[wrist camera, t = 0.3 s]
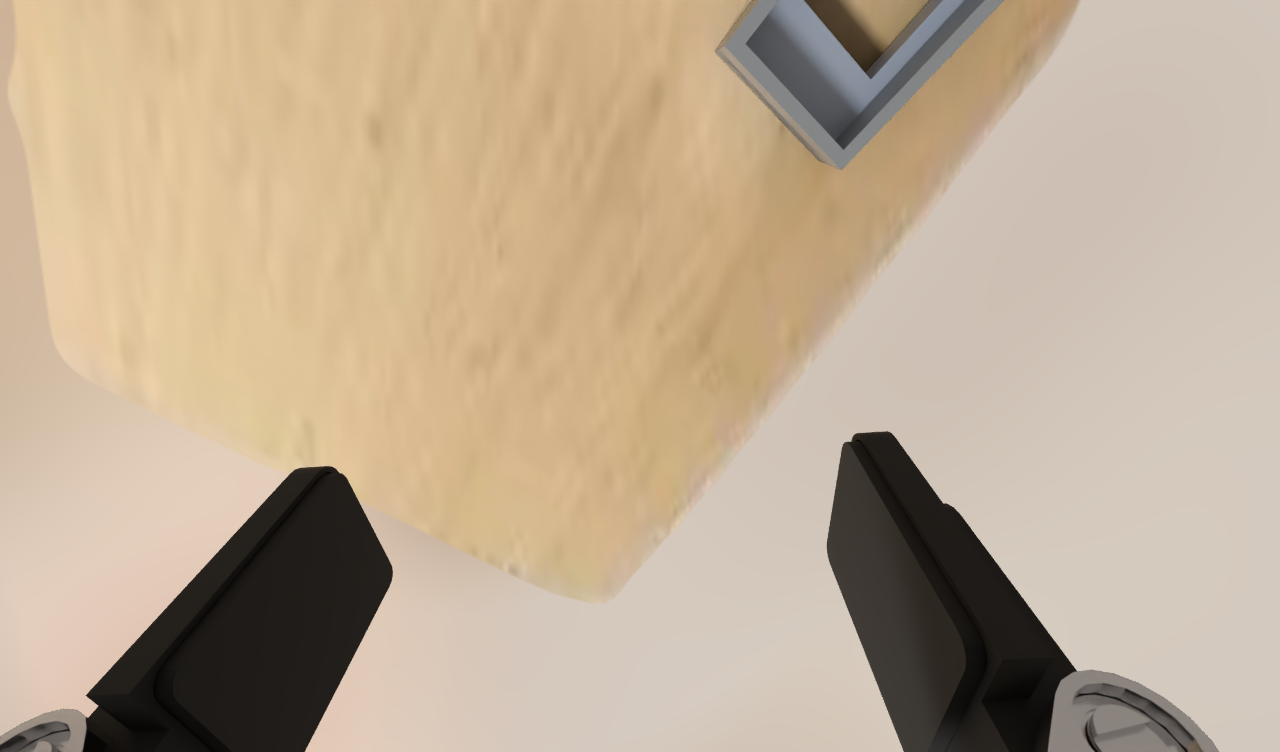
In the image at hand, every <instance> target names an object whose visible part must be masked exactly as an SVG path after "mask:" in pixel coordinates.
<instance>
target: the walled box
mask: <svg viewBox="0 0 1280 752" xmlns="http://www.w3.org/2000/svg"><path fill="white" fill-rule="evenodd" d="M1003 1H1004V0H930V1H929V2H928V3H927V4H926V5H925V7H924V8H923V9H922V10H921V11H920V12H919V13H918V14H917V15H916V17H915V18H914V19H913V20H912V21H911V22H910V23H909V24H908V26H907V27H906V28H905V29H904V30H903V31H902V32H901V33H900V34H899V36H898V37H897V38H896V39H895V40H894V41H893V42H892V43H891V45H890V46H889V47H888V48H887V49H886V50H885V51H884V52H883V53H882V55H881V56H880V57H879V58H878V59H877V60H876V61H875V62H874V64H873V65H872V66H871V67H870V68H869V69H868V70H867V71H866V72H864V71H863V70H862V69H861V68H860V66H859V65H858V64H857V63H856V62H855V60H854V59H853V58H852V57H851V56H850V54H849V53H848V52H847V51H846V50H845V49H844V47H843V46H842V45H841V44H840V43H839V41H838V40H837V39H836V38H835V37H834V35H833V34H832V33H831V32H830V31H829V29H828V28H827V27H826V26H825V25H824V24H823V22H822V21H821V20H820V19H819V18H818V16H817V15H816V14H815V13H814V12H813V10H812V9H811V8H810V7H809V6H808V5H807V3H806V2H805V1H804V0H753V1H752V2H751V3H750V5H749V6H748V7H747V9H746V10H745V11H744V13H743V14H742V15H741V17H740V18H739V19H738V21H737V22H736V23H735V25H734V26H733V27H732V29H731V30H730V32H729V33H728V34H727V36H726V37H725V38H724V40H723V41H722V42H721V44H720V45H719V46H718V48H717V49H716V50H715V53H716V54H717V55H718V56H719V57H720V58H721V59H722V60H723V61H724V62H725V63H726V64H727V65H728V66H729V67H730V68H731V69H732V71H733V72H734V73H735V74H736V75H737V76H738V77H739V78H740V79H741V80H742V81H743V82H744V83H745V84H746V85H747V86H748V87H749V88H750V89H751V90H752V91H753V93H754V94H755V95H756V96H757V97H758V98H759V99H760V100H761V101H762V102H763V103H764V104H765V105H766V106H767V107H768V108H769V109H770V110H771V111H772V112H773V113H774V114H775V116H776V117H777V118H778V119H779V120H780V121H781V122H782V123H783V124H784V125H785V126H786V127H787V128H788V129H789V130H790V131H791V132H792V133H793V134H794V135H795V136H796V138H797V139H798V140H799V141H800V142H801V143H802V144H803V145H804V146H805V147H806V148H807V149H808V150H809V151H810V152H811V153H812V154H813V155H814V156H815V157H816V158H817V159H818V161H820V162H823V163H825V164H828V165H830V166H833V167H835V168H837V169H840V170H842V169H843V168H844V167H845V166H846V165H847V164H848V163H849V162H850V161H851V160H852V159H853V158H854V157H855V156H856V155H857V153H858V152H859V151H860V150H861V149H862V148H863V147H864V146H865V145H866V144H867V143H868V142H869V141H870V140H871V139H872V138H873V137H874V136H875V135H876V134H877V133H878V132H879V131H880V129H881V128H882V127H883V126H884V125H885V124H886V123H887V122H888V121H889V120H890V119H891V118H892V117H893V116H894V115H895V114H896V113H897V112H898V111H899V110H900V109H901V108H902V107H903V105H904V104H905V103H906V102H907V101H908V100H909V99H910V98H911V97H912V96H913V95H914V94H915V93H916V92H917V91H918V90H919V89H920V88H921V87H922V86H923V85H924V84H925V83H926V81H927V80H928V79H929V78H930V77H931V76H932V75H933V74H934V73H935V72H936V71H937V70H938V69H939V68H940V67H941V66H942V65H943V64H944V63H945V62H946V61H947V60H948V58H949V57H950V56H951V55H952V54H953V53H954V52H955V51H956V50H957V49H958V48H959V47H960V46H961V45H962V44H963V43H964V42H965V41H966V40H967V39H968V38H969V37H970V36H971V34H972V33H973V32H974V31H975V30H976V29H977V28H978V27H979V26H980V25H981V24H982V23H983V22H984V21H985V20H986V19H987V18H988V17H989V16H990V15H991V14H992V13H993V12H994V10H995V9H996V8H997V7H998V6H999V5H1000V4H1001V3H1002V2H1003Z"/></svg>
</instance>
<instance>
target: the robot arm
mask: <svg viewBox="0 0 1280 752" xmlns="http://www.w3.org/2000/svg"><path fill="white" fill-rule="evenodd" d="M827 553H828V558H829V562H830V565H831V567H832V570H833V572H834V575H835V578H836V580H837V582H838V585H839V587H840V590H841V593H842V595H843V598H844V600H845V603H846V605H847V608H848V611H849V613H850V616H851V618H852V621H853V623H854V626H855V628H856V631H857V634H858V636H859V639H860V641H861V644H862V646H863V648H864V651H865V654H866V656H867V659H868V661H869V664H870V666H871V669H872V672H873V674H874V677H875V679H876V682H877V684H878V687H879V690H880V692H881V695H882V697H883V699H884V702H885V705H886V707H887V710H888V712H889V715H890V718H891V720H892V723H893V725H894V727H895V730H896V733H897V735H898V738H899V740H900V743H901V745H902V748H903V751H904V752H1219V751H1218V749H1217V748H1216V746H1215V745H1214V743H1213V742H1212V740H1211V739H1210V738H1209V737H1208V736H1207V735H1206V734H1205V733H1204V732H1203V731H1202V730H1201V729H1200V728H1199V727H1198V726H1197V724H1196V723H1195V722H1194V721H1193V720H1191V718H1190V717H1188V716H1187V715H1186V714H1185V713H1183V712H1182V711H1181V710H1180V709H1178V708H1177V707H1176V706H1174V705H1173V704H1172V703H1171V702H1169V701H1168V700H1167V699H1165V698H1164V697H1162V696H1160V695H1159V694H1157V693H1155V692H1153V691H1152V690H1150V689H1148V688H1146V687H1145V686H1143V685H1141V684H1139V683H1137V682H1135V681H1132V680H1129V679H1127V678H1124V677H1121V676H1119V675H1116V674H1114V673H1107V672H1102V671H1095V670H1086V671H1078V672H1077V671H1076V669H1075V668H1074V666H1073V665H1072V664H1071V662H1070V661H1069V660H1068V658H1067V657H1066V656H1065V655H1064V653H1063V652H1062V650H1061V649H1060V648H1059V646H1058V645H1057V644H1056V642H1055V641H1054V640H1053V638H1052V637H1051V636H1050V634H1049V633H1048V632H1047V630H1046V629H1045V628H1044V626H1043V625H1042V624H1041V622H1040V621H1039V620H1038V618H1037V617H1036V616H1035V614H1034V613H1033V611H1032V610H1031V609H1030V608H1029V606H1028V605H1027V603H1026V602H1025V601H1024V599H1023V598H1022V597H1021V595H1020V594H1019V593H1018V591H1017V590H1016V589H1015V587H1014V586H1013V585H1012V583H1011V582H1010V581H1009V579H1008V578H1007V577H1006V575H1005V574H1004V573H1003V571H1002V570H1001V568H1000V567H999V566H998V564H997V563H996V562H995V560H994V559H993V558H992V556H991V555H990V554H989V552H988V551H987V550H986V548H985V547H984V546H983V544H982V543H981V542H980V540H979V539H978V538H977V536H976V535H975V534H974V532H973V531H972V530H971V528H970V527H969V526H968V524H967V523H966V522H965V520H964V519H963V517H962V516H961V515H960V514H959V513H958V512H957V511H956V510H955V508H954V507H952V506H950V505H948V504H943V503H942V501H941V500H940V499H939V497H938V496H937V495H936V493H935V492H934V490H933V489H932V487H931V486H930V485H929V483H928V482H927V481H926V479H925V478H924V477H923V475H922V474H921V472H920V471H919V470H918V468H917V467H916V465H915V464H914V463H913V461H912V460H911V458H910V457H909V456H908V455H907V453H906V452H905V450H904V449H903V447H902V446H901V445H900V443H899V442H898V441H897V439H896V438H895V436H894V435H893V434H892V433H890V432H888V431H887V432H872V433H871V432H870V433H857V434H855V435H854V436H853V438H852V441H851V442H845V443H844V444H843V447H842V452H841V458H840V464H839V471H838V477H837V483H836V489H835V496H834V502H833V508H832V514H831V521H830V527H829V533H828V539H827ZM392 576H393V570H392V565H391V563H390V562H389V559H388V557H387V556H386V553H385V552H384V550H383V548H382V546H381V544H380V542H379V540H378V538H377V536H376V534H375V532H374V530H373V528H372V526H371V524H370V522H369V521H368V519H367V517H366V515H365V513H364V511H363V509H362V507H361V505H360V503H359V501H358V499H357V497H356V495H355V493H354V491H353V489H352V487H351V486H350V484H349V482H348V480H347V478H346V477H345V475H343V474H341V473H339V472H338V471H337V470H336V469H335V468H333V467H330V466H323V467H307V468H299V469H296V470H294V471H293V472H292V473H290V475H289V476H288V477H287V478H286V479H285V480H284V481H283V482H282V483H281V484H280V485H279V487H278V488H277V489H276V490H275V491H274V492H273V493H272V494H271V495H270V496H269V497H268V498H267V499H266V501H265V502H264V503H263V504H262V505H261V506H260V507H259V508H258V509H257V510H256V511H255V513H254V514H253V515H252V516H251V517H250V518H249V519H248V520H247V521H246V522H245V523H244V524H243V526H242V527H241V528H240V529H239V530H238V531H237V532H236V533H235V534H234V535H233V536H232V537H231V539H230V540H229V541H228V542H227V543H226V544H225V545H224V546H223V547H222V548H221V549H220V550H219V552H218V553H217V554H216V555H215V556H214V557H213V558H212V559H211V560H210V561H209V562H208V564H207V565H206V566H205V567H204V568H203V569H202V570H201V571H200V572H199V573H198V574H197V575H196V577H195V578H194V579H193V580H192V581H191V582H190V583H189V584H188V585H187V587H185V588H184V589H183V591H182V592H181V593H180V594H179V595H178V596H177V597H176V598H175V599H174V601H173V602H172V603H171V604H170V605H169V606H168V607H167V608H166V609H165V610H164V611H163V612H162V613H161V615H160V616H159V617H158V618H157V619H156V620H155V621H154V622H153V623H152V624H151V625H150V626H149V628H148V629H147V630H146V631H145V632H144V633H143V634H142V635H141V636H140V637H139V638H138V639H137V641H136V642H135V643H134V644H133V645H132V646H131V647H130V648H129V649H128V650H127V651H126V652H125V653H124V655H123V656H122V657H121V658H120V659H119V660H118V661H117V662H116V663H115V664H114V665H113V667H112V668H111V669H110V670H109V671H108V672H107V673H106V674H105V675H104V676H103V677H102V679H101V680H100V681H99V682H98V683H97V684H96V685H95V686H94V687H93V688H92V689H91V690H90V691H89V693H88V694H87V695H86V696H87V697H88V698H89V699H91V700H92V701H93V702H95V703H96V704H97V705H98V707H97V709H96V710H95V711H94V712H93V713H92V714H91V715H90V717H89V718H87V717H86V716H85V715H84V714H82V713H81V712H80V711H78V710H73V709H60V710H56V711H52V712H49V713H44V714H42V715H40V716H38V717H35V718H33V719H31V720H29V721H26V722H24V723H22V724H20V725H19V726H17V727H15V728H14V729H12V730H10V731H8V732H7V733H5V734H4V735H2V736H0V752H305V750H306V748H307V746H308V744H309V742H310V740H311V738H312V736H313V734H314V732H315V730H316V729H317V726H318V725H319V722H320V721H321V719H322V717H323V715H324V713H325V711H326V709H327V707H328V705H329V703H330V701H331V699H332V697H333V695H334V693H335V691H336V689H337V688H338V686H339V684H340V682H341V680H342V678H343V676H344V674H345V672H346V670H347V668H348V666H349V664H350V662H351V660H352V658H353V656H354V654H355V652H356V651H357V649H358V647H359V645H360V643H361V641H362V639H363V637H364V635H365V633H366V631H367V629H368V627H369V625H370V623H371V621H372V619H373V617H374V615H375V614H376V612H377V610H378V607H379V606H380V604H381V602H382V600H383V598H384V596H385V594H386V592H387V590H388V588H389V586H390V583H391V581H392Z"/></svg>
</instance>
